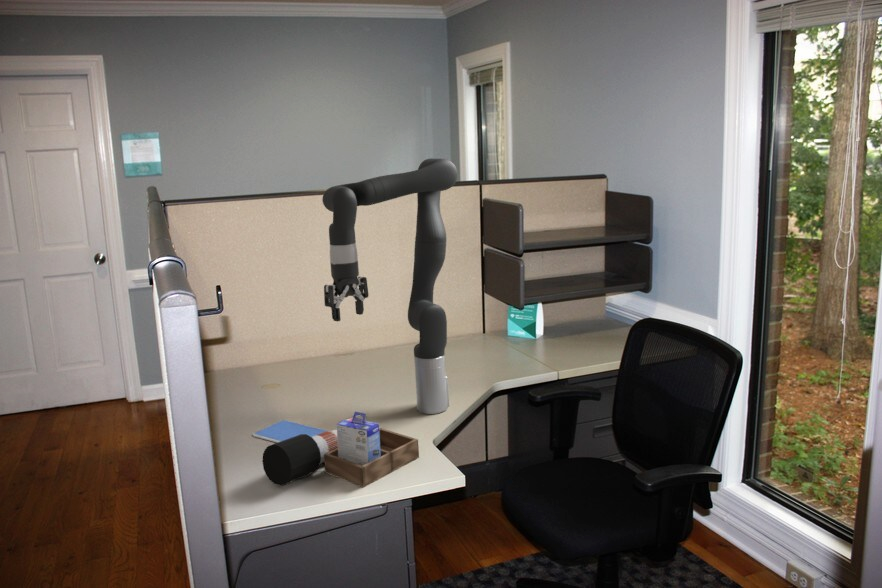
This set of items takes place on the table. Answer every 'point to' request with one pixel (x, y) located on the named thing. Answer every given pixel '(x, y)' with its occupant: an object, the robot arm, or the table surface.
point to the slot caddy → (393, 456)
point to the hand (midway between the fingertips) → (348, 317)
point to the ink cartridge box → (358, 440)
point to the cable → (297, 456)
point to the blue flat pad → (286, 431)
